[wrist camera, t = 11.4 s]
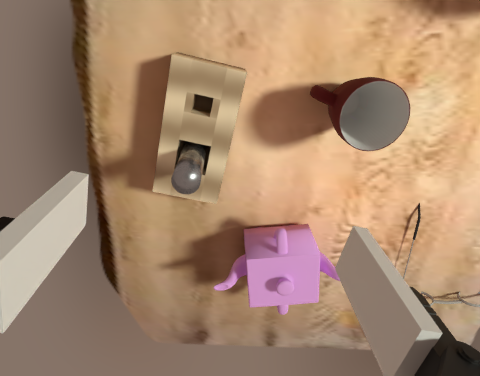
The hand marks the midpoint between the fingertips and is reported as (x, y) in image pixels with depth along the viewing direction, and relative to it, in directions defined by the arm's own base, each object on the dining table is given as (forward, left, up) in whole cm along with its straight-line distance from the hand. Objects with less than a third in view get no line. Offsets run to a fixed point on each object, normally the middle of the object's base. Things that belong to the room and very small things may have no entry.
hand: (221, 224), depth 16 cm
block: (+4, -3, -33) cm, 33 cm away
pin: (+7, -3, -32) cm, 33 cm away
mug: (-4, +15, -33) cm, 36 cm away
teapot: (+21, +13, -33) cm, 41 cm away
